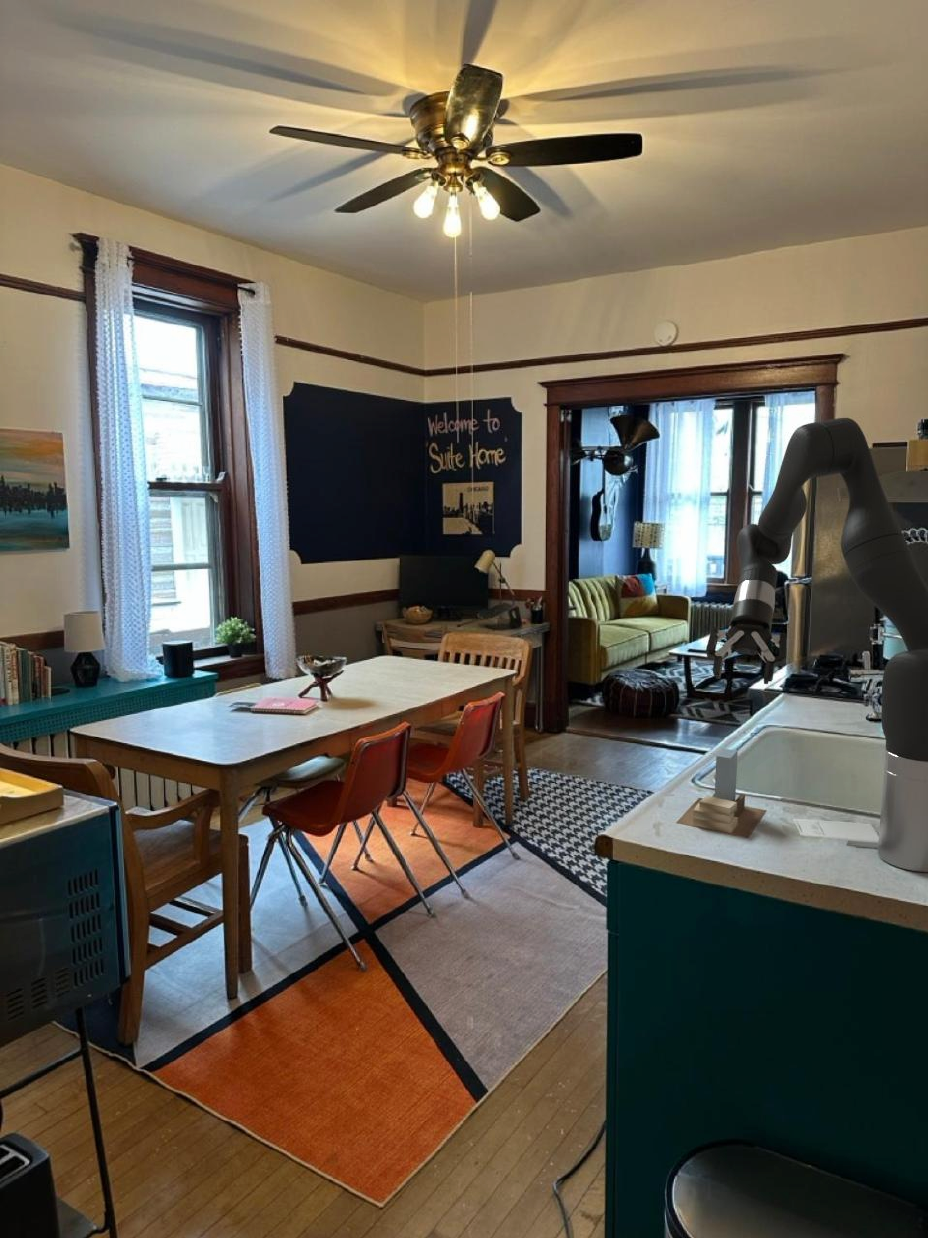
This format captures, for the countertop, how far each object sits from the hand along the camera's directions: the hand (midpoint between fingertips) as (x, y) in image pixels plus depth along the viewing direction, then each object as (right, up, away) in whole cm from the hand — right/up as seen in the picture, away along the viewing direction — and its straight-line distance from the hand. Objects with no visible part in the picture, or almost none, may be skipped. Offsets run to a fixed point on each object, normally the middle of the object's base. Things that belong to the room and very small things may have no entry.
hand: (741, 679), depth 149 cm
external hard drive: (+11, -26, -14) cm, 31 cm away
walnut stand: (-6, -24, -8) cm, 26 cm away
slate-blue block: (-6, -23, -7) cm, 25 cm away
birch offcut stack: (-9, -24, -12) cm, 28 cm away
